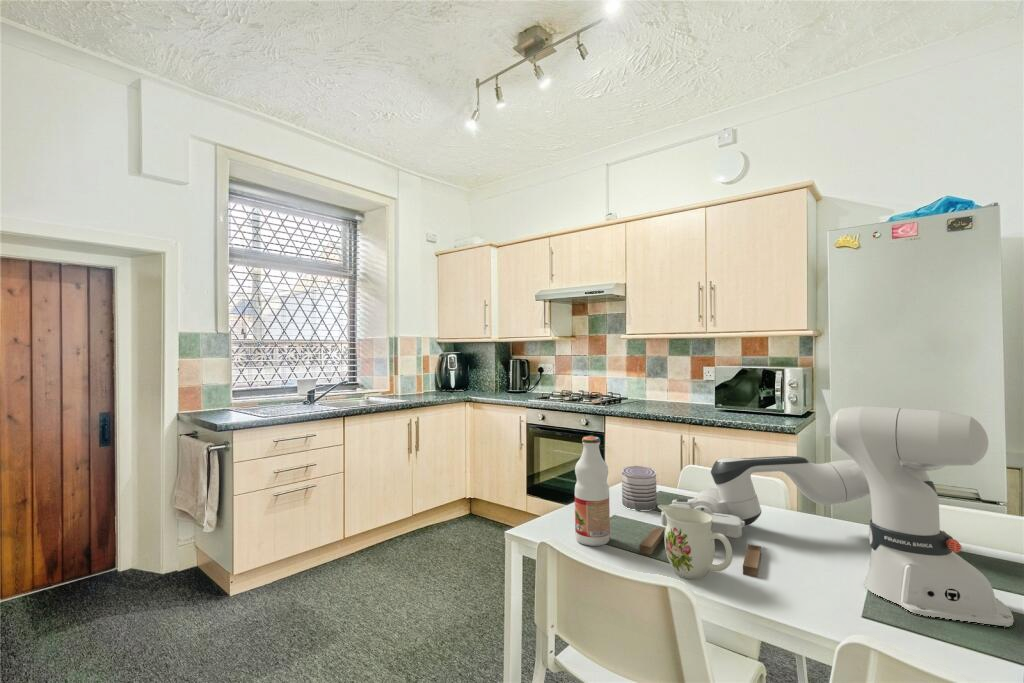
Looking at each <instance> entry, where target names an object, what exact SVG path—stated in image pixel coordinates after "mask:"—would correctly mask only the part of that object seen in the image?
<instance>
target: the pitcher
mask: <svg viewBox="0 0 1024 683" xmlns="http://www.w3.org/2000/svg"><path fill="white" fill-rule="evenodd" d="M669 505H670V504H657V508H658V509H659V510H660V511H661V512H662V511H663V512H664V514H665V516H666V519H667V526H665V529H664V547H665V548H664V549H665V553H666V557H667V560H668V562H669V564H670V566H671V568H672V569H673V571H674V572H675V574H676V575H678V576H679V577H682V578H684V579H685V578H686V579H689V580H700V579H703V578H704V577H706V575H707V574H708V572H721V571H725V570H726V569H727V568H729V566H731V564H732V561H733V549H732V545H731V542H730V540H729V539H728V538H727V536H724V535H723V534H720V533H712V531H711V525H712V519H713V518H712V516H711V515H709V514H707V513H705V512H702V511H699V510H695V509H690V508H684V507H674V506H669ZM715 539H717V540H720V541H721V542H722V544H723V545H724V548H725V559H724V561H723V562H722V563H719V564H714V563H713V562H714V557H715V553H716V552H715V551H716V550H715V548H716V546H715V543H716V542H715Z"/></svg>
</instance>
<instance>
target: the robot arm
mask: <svg viewBox="0 0 1024 683" xmlns="http://www.w3.org/2000/svg"><path fill="white" fill-rule="evenodd" d="M829 431H830V437H831V439H832V440H833V443H835V445H836V446H837V447H838V448H840V450H842V451H844V452H845V453H846V454H847V455H848V456H850V457H851V459H841V460H835V461H828V462H823V463H814V462H810V461H809V460H808V459H807V458H806V457H803V456H797V455H796V456H794V455H785V456H781V455H780V456H760V457H731V456H730V457H722V458H719V459H717V460H716V461H715V462H714V464H712V467H711V470H710V473H711V476H712V477H711V478H712V479H713V483H714V484H715V485H716V488H715V487H707V488H704V489H702V490H700V491H698V493H697V494H696V495H695V497H694V498H688V499H685V498H684V499H679V498H678V499H672V501H671V503H670V504H668V505H669V506H674V507H684V508H690V509H695V510H699V511H702V512H705V513H707V514H709V515H711V516H712V518H713V519H712V525H711V531H712V533H720V534H723V535H724V536H725V537H729V538H735V539H741V538H742V535H743V532H742V531H743V529H742V528H744V527H746V526H749V525H752V524H753V523H755V522H756V521H757V520H758V519H759V517H760V516H761V515H762V508H761V504H760V501H759V499H758V496H757V494H756V490H755V487H754V483H753V481H752V474H754V473H755V474H756V473H773V472H781V473H784V474H785V475H786V476H787V477H788V478H789V479H790V480H791V481H792V483H793V484H794V485H795V486H796V488H797V489H798V491H799V492H801V493H802V495H804V496H805V497H806V498H807V499H808V500H810V501H812V502H813V503H815V504H818V505H821V506H833V505H840V504H843V503H844V504H845V503H848V502H853V501H857V500H858V499H862V498H864V497H867V496H869V497H870V505H871V506H870V507H871V519H870V520H869V526H868V535H869V536H868V537H869V538H868V539H869V545H870V547H871V549H870V550H871V551H870V552H871V553H870V560H869V566H868V571H867V574H866V577H865V581H864V585H865V588H866V589H867V590H868V591H869V592H871V593H872V594H873V593H874V594H873V595H875V594H876V595H875V596H877V595H878V596H877V597H879V596H881V597H883V598H885V599H887V600H890V601H892V602H894V603H897V604H899V605H901V606H902V607H904V608H905V609H907V610H909V611H910V612H913V613H917V614H920V615H919V616H921V615H923V616H922V617H928V616H929V618H935V617H940V618H939V619H942V618H945V619H944V620H949V619H952V620H951V621H956V620H960V621H959V622H963V621H968V622H967V623H970V622H977V623H984V624H995V625H1006V626H1010V625H1012V624H1013V622H1014V623H1015V620H1014V616H1013V613H1012V611H1011V610H1010V609H1009V608H1008V606H1007V605H1006V604H1005V603H1003V602H1002V601H1001V600H1000V599H998V598H997V597H996V595H995V591H994V589H993V586H992V585H991V583H990V581H989V579H988V578H987V577H986V576H985V574H983V573H982V572H981V571H980V570H979V569H977V568H976V567H975V566H973V565H972V564H971V563H969V562H968V561H967V560H965V559H964V558H963V557H961V556H960V555H959V554H957V553H959V552H960V551H962V549H963V546H962V545H961V544H960V542H959V541H957V540H956V539H954V538H953V537H952V536H951V535H950V534H948V533H947V532H946V531H944V530H941V526H940V525H941V524H940V521H941V520H940V502H939V501H940V500H939V499H940V498H939V496H938V494H937V489H936V486H935V483H934V482H933V481H932V480H931V479H930V476H929V474H928V472H931V471H938V470H940V469H944V467H947V466H948V467H949V466H951V467H952V466H954V467H955V466H958V467H959V466H975V464H977V463H979V462H980V461H981V460H982V459H984V457H985V456H986V453H987V451H988V450H989V449H988V448H989V438H988V434H987V432H986V429H985V428H984V426H983V425H982V424H981V423H980V422H979V421H978V420H976V418H974V417H972V416H969V415H965V414H959V413H956V412H955V413H954V412H949V411H946V410H945V411H944V410H937V409H924V408H923V409H918V408H907V407H906V408H905V407H891V406H889V407H888V406H876V405H875V406H874V405H858V406H848V407H840V408H839V409H838V410H837V411H836V412H835V413H834V414H833V416H832V418H831V419H830V423H829ZM660 521H661V525H662V526H664V527H666V526H667V519H666V516H665V514H664V512H663V511H662V510H661V514H660ZM885 599H884V600H885ZM887 600H886V601H887ZM892 602H891V603H892ZM894 603H893V604H894ZM902 607H901V608H902ZM905 609H904V610H905ZM907 610H906V611H907ZM910 612H909V613H910ZM913 613H912V614H913ZM930 616H931V617H930ZM977 623H976V624H977ZM984 624H983V625H984Z"/></svg>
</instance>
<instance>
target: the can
mask: <svg viewBox="0 0 1024 683" xmlns="http://www.w3.org/2000/svg"><path fill="white" fill-rule="evenodd" d="M620 472H621V489H622V490H621V492H622V494H621V498H622V502H621V503H622V504H623V505H624V506H625V507H627V508H630V509H635V510H650V509H654V508H655V507H656V505H657V506H658V504H657V503H658V502H657V498H658V497H657V473H658V471H657V470H654V469H653V468H651V467H648V466H641V465H632V466H625V467H623V468H622V469H621V470H620ZM622 504H621V505H622ZM624 506H623V507H624ZM625 507H624V508H625ZM627 508H626V509H627ZM656 508H657V507H656ZM630 509H629V510H630Z"/></svg>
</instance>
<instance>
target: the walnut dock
mask: <svg viewBox="0 0 1024 683" xmlns="http://www.w3.org/2000/svg"><path fill="white" fill-rule="evenodd" d="M663 537H664V538H665V529H664V528H661V527H660V528H659V527H652V529H651V530H650V531H649V532H648V533H647V534H646V536H645V537H644V538H643V540H642V541H641V542H639V546H638V547H639V551H638V552H639V554H643V555H649V556H652V555H653V553H654V552H655V550H656V549H657V548H656V547H658V546H659V545H660V543H662V541H663V539H664V538H663ZM662 538H663V539H662ZM661 540H662V541H661ZM658 544H659V545H658ZM745 551H746V552H745V555H744V558H743V563H742V574H743V575H745V576H750V577H754V578H759V577H758V576H759V571H760V565H761V559H762V546H760V545H754V544H750V543H747V547H746V550H745ZM651 554H652V555H651Z"/></svg>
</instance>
